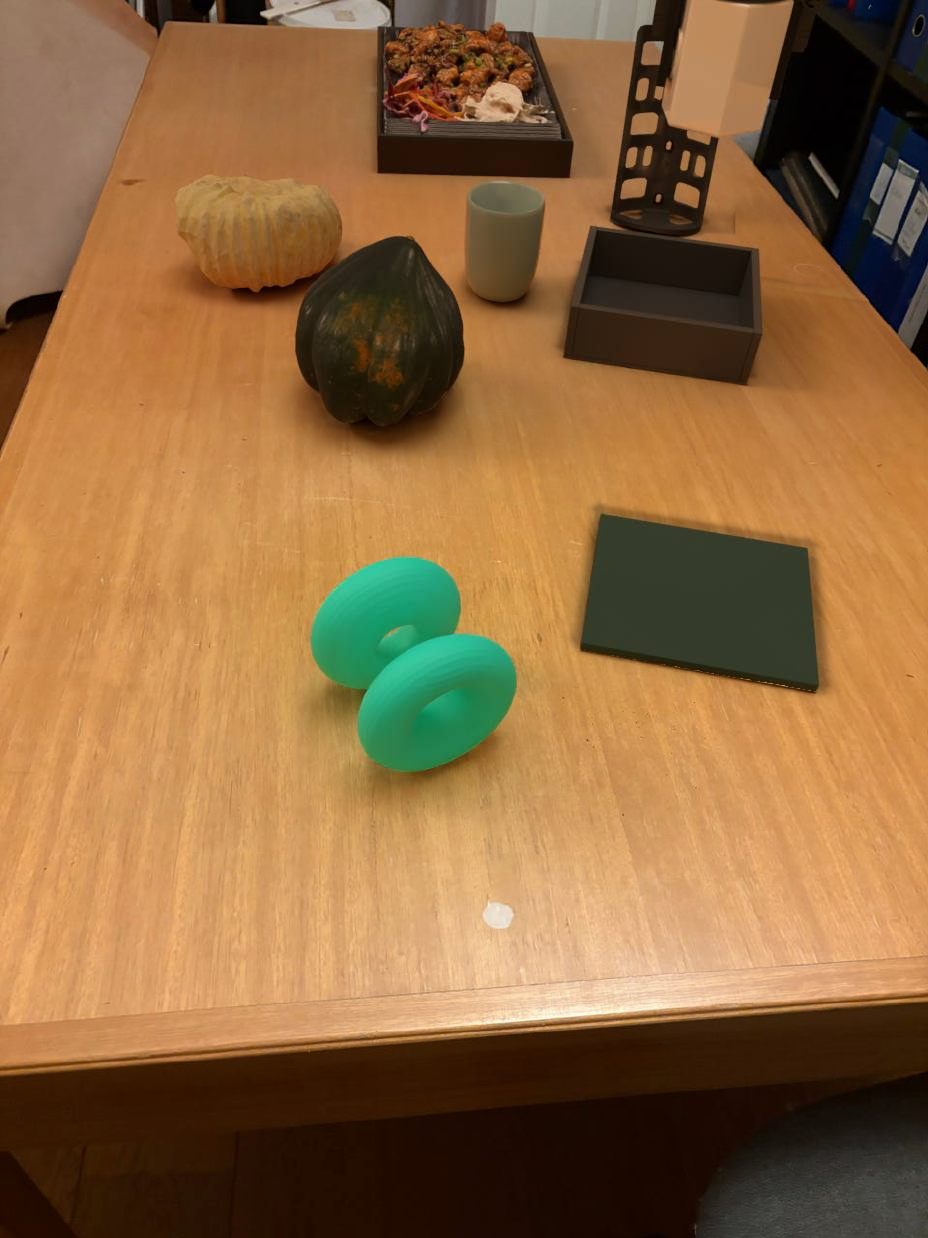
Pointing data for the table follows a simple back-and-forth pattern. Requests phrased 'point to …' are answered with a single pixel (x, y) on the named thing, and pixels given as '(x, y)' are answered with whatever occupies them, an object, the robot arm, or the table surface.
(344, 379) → the squash
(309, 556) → the table surface
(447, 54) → the food platter
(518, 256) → the cup
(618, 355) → the tub
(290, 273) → the pale yellow ribbed round
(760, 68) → the jar
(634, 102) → the holder
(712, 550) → the mat
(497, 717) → the donuts
